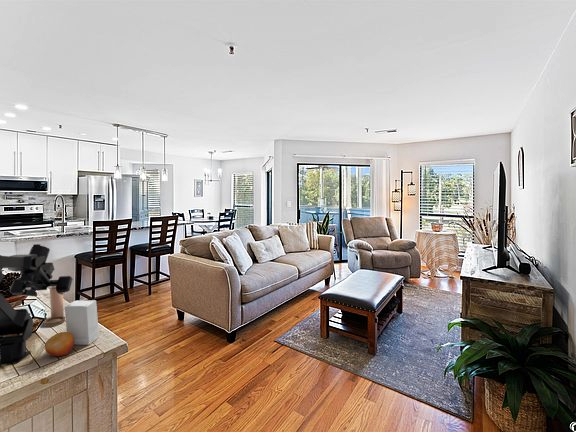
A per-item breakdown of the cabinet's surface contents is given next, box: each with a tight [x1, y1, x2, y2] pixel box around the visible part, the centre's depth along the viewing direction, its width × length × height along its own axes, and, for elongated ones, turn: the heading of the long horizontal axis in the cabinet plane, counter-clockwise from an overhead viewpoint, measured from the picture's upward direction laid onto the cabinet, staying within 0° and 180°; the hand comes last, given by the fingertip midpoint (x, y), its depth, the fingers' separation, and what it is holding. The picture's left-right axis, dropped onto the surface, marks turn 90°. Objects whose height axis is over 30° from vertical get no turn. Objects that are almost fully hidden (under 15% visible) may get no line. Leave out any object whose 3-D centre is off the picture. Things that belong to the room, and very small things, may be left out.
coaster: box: [43, 315, 66, 327], centre depth 123 cm, size 7×7×1 cm
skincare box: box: [64, 299, 100, 346], centre depth 108 cm, size 8×6×15 cm
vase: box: [49, 286, 65, 318], centre depth 128 cm, size 4×4×14 cm
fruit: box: [44, 331, 74, 357], centre depth 101 cm, size 8×8×8 cm
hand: (49, 294), depth 122 cm, fingers open, 9 cm apart
